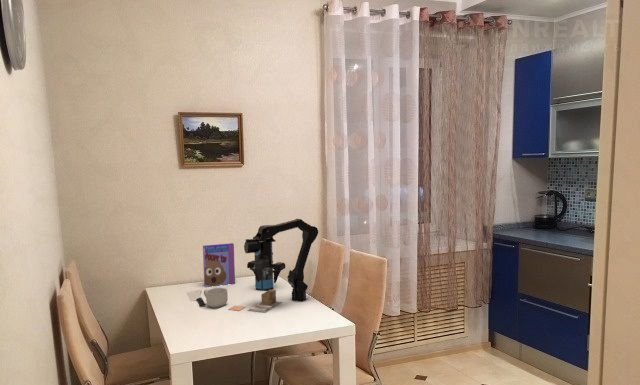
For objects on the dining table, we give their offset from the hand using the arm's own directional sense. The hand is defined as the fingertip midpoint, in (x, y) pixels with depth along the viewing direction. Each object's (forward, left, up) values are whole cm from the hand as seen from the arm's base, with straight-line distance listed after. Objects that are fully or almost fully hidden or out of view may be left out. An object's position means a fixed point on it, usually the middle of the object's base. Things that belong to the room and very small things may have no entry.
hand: (266, 282), depth 220 cm
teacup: (+26, +7, -12) cm, 29 cm away
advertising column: (+17, -27, -12) cm, 34 cm away
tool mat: (0, +2, -12) cm, 12 cm away
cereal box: (+48, -28, -12) cm, 57 cm away
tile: (+11, +7, -12) cm, 18 cm away
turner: (0, +1, -11) cm, 11 cm away
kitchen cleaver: (+43, +1, -13) cm, 45 cm away
